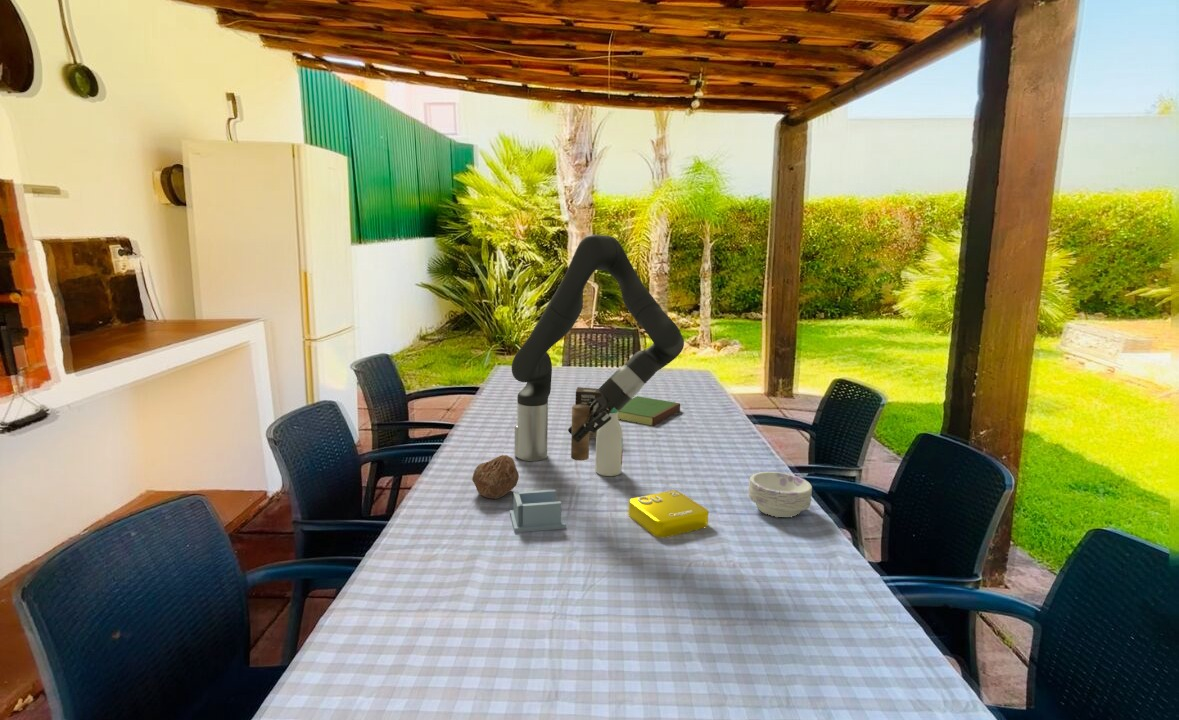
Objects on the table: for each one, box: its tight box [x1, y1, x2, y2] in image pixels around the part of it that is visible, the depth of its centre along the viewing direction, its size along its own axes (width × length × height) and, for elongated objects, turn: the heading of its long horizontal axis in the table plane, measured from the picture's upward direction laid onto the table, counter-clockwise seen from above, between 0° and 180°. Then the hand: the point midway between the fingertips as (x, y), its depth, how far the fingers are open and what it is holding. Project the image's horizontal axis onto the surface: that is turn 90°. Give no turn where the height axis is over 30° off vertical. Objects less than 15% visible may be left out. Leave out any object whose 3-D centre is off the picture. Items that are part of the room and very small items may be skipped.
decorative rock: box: [471, 454, 520, 499], centre depth 169 cm, size 13×11×10 cm
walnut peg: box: [570, 404, 590, 461], centre depth 159 cm, size 4×4×13 cm
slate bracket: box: [509, 489, 567, 533], centre depth 154 cm, size 12×10×6 cm
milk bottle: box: [595, 408, 624, 477], centre depth 185 cm, size 8×8×20 cm
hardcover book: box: [618, 395, 681, 427], centre depth 248 cm, size 25×19×4 cm
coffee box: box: [574, 386, 602, 439], centre depth 219 cm, size 9×6×16 cm
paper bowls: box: [748, 471, 813, 518], centre depth 163 cm, size 15×15×8 cm
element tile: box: [628, 490, 710, 538], centre depth 156 cm, size 15×15×5 cm
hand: (572, 436), depth 158 cm, fingers closed on walnut peg, 4 cm apart
